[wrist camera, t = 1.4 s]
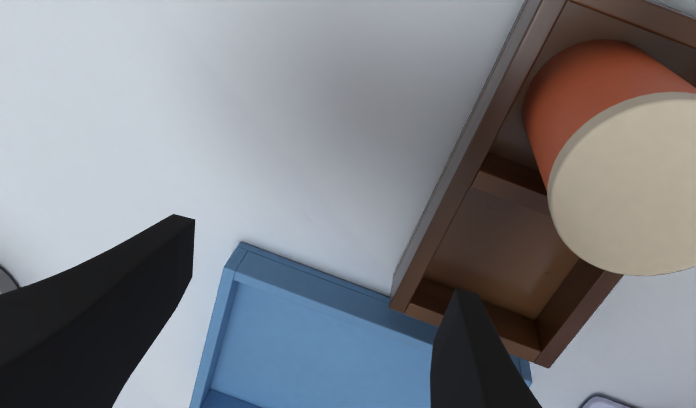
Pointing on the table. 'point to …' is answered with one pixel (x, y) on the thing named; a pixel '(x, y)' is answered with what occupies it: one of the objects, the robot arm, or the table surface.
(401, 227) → the table surface
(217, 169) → the table surface
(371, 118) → the table surface
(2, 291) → the travel mug
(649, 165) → the snack tub
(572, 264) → the compartment box
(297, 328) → the tray
